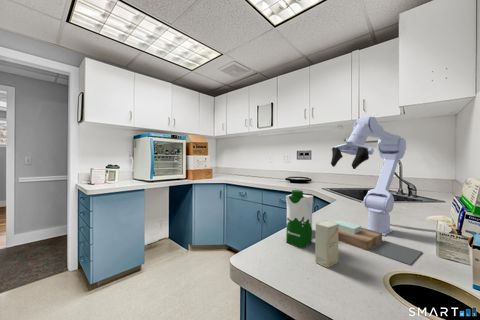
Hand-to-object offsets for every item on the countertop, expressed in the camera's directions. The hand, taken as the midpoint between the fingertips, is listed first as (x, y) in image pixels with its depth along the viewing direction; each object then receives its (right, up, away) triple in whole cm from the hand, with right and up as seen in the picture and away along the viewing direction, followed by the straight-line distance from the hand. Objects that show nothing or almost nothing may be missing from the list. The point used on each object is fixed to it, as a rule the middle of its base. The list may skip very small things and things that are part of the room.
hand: (342, 166), depth 74 cm
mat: (+17, -30, -4) cm, 34 cm away
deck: (+8, -29, +8) cm, 31 cm away
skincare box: (-10, -30, -11) cm, 33 cm away
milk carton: (-15, -30, +3) cm, 33 cm away
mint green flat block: (+7, -26, +10) cm, 29 cm away
